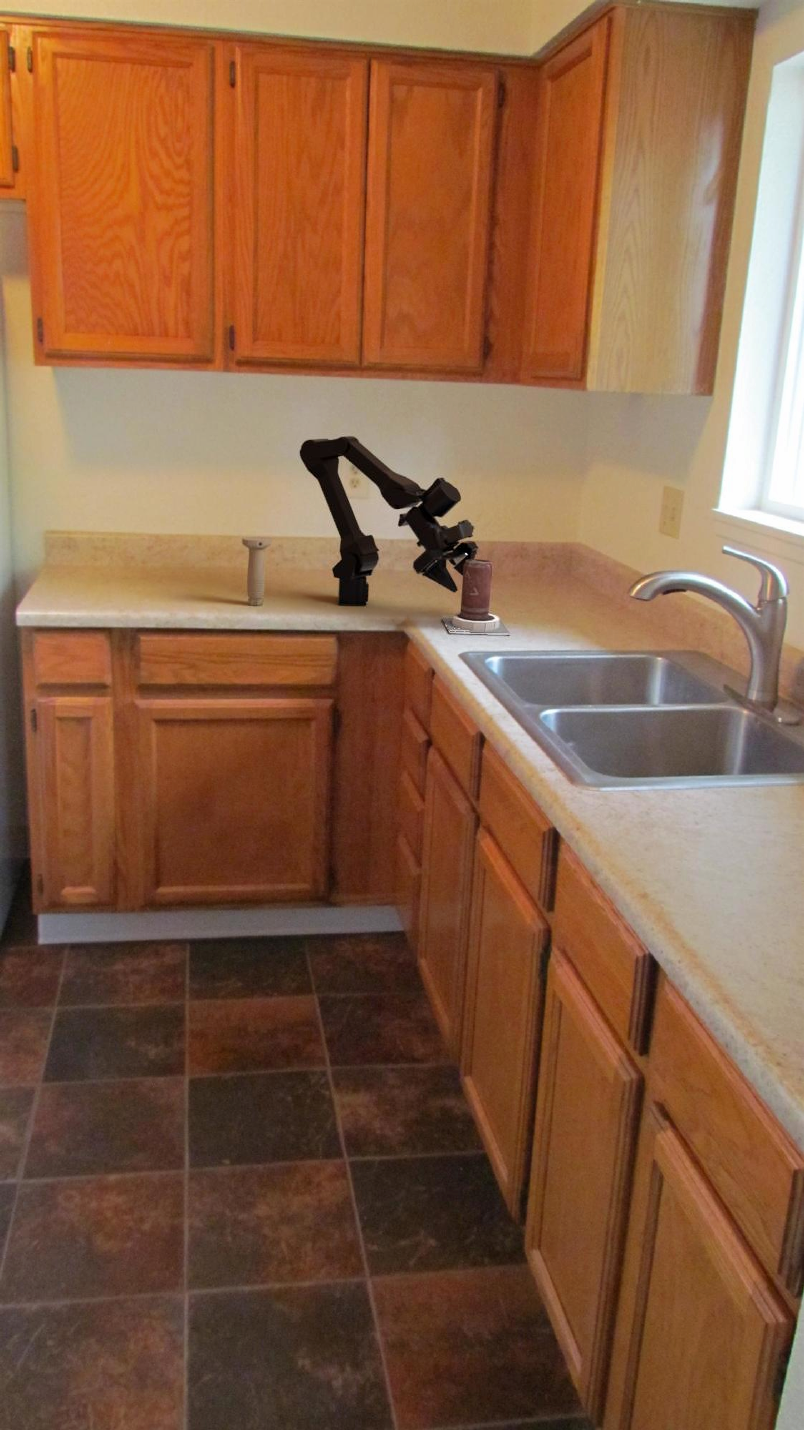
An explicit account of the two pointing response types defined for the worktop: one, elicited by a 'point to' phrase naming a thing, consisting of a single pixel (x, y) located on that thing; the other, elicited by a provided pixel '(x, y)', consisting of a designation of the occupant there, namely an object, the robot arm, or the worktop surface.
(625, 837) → the worktop surface
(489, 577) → the can
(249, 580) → the handle
